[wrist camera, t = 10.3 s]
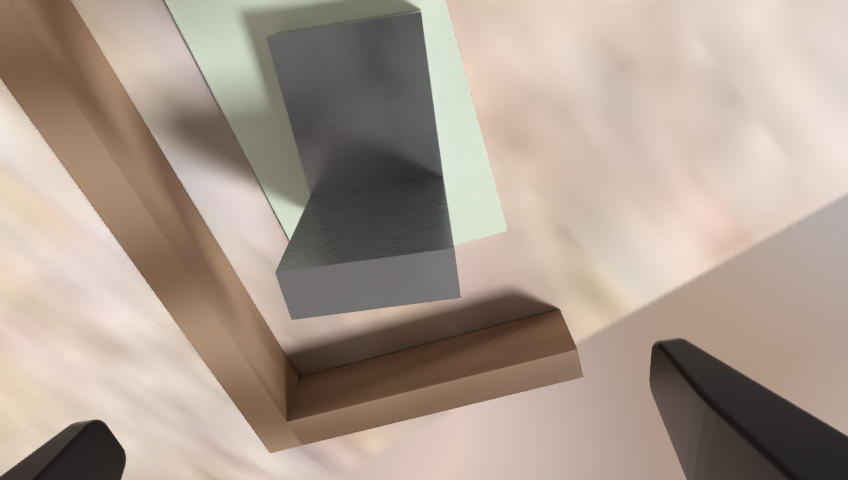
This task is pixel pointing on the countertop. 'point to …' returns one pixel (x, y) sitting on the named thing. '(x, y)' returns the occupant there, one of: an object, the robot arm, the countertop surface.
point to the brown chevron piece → (213, 274)
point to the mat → (268, 119)
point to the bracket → (364, 168)
